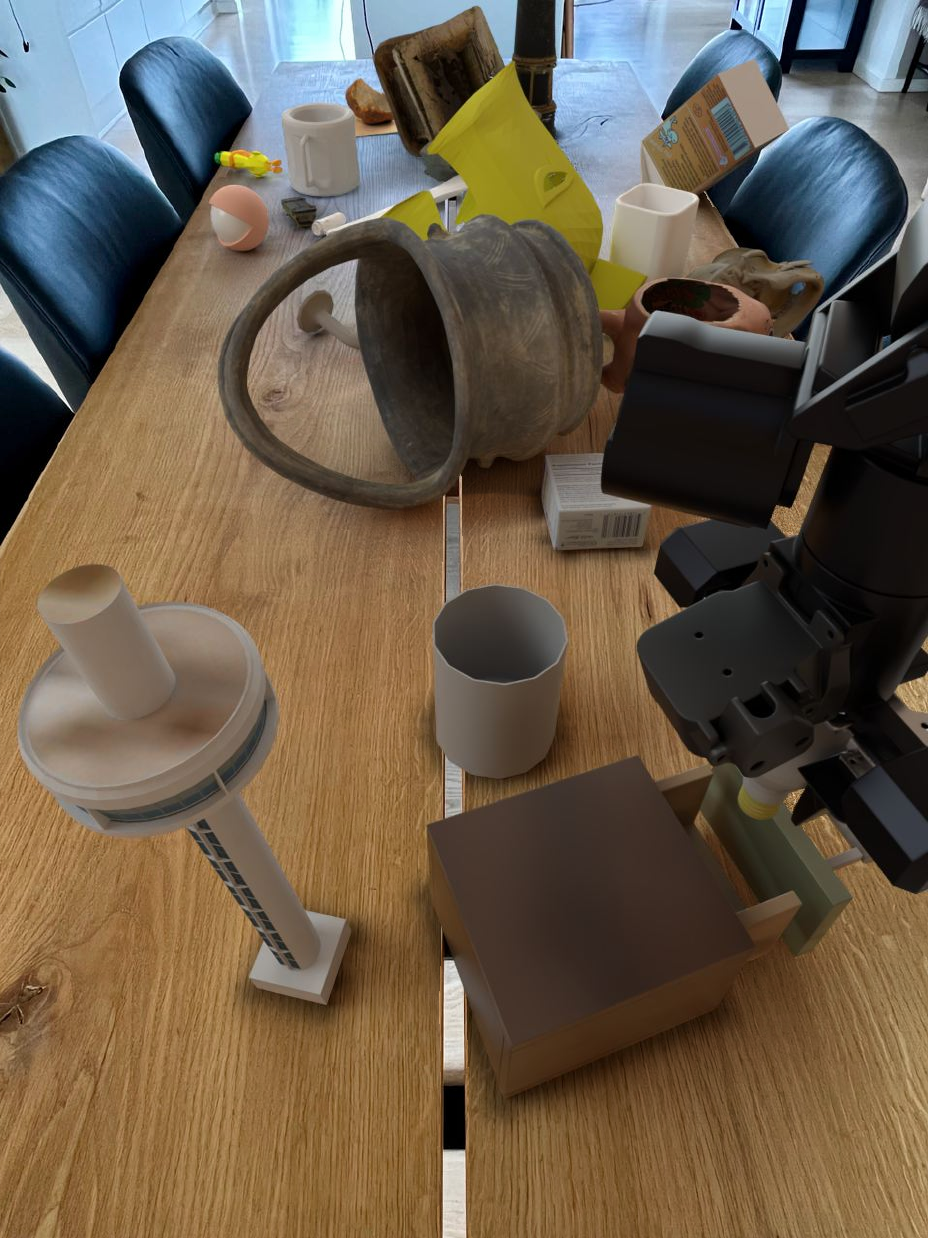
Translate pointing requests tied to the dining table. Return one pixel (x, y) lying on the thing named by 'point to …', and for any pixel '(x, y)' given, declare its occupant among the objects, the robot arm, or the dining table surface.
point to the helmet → (519, 182)
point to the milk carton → (713, 132)
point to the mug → (321, 148)
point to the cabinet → (580, 921)
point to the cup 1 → (497, 679)
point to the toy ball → (238, 217)
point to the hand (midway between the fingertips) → (769, 777)
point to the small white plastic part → (328, 223)
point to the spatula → (438, 193)
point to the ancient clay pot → (441, 349)
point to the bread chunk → (369, 109)
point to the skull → (767, 284)
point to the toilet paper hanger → (324, 318)
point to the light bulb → (787, 775)
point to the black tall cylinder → (536, 56)
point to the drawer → (764, 860)
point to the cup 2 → (653, 230)
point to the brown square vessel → (435, 74)
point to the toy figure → (248, 162)
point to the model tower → (171, 750)
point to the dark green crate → (299, 210)
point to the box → (588, 506)
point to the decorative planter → (680, 298)
